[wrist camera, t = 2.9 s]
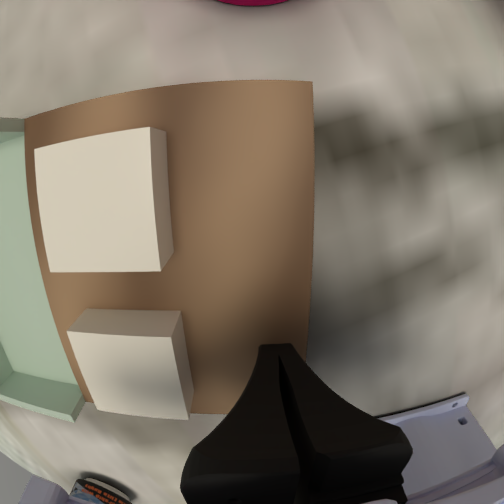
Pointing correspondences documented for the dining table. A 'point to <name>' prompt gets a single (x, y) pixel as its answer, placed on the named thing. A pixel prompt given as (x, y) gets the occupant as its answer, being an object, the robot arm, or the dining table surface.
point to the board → (206, 223)
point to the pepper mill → (252, 2)
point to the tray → (27, 300)
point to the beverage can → (98, 492)
